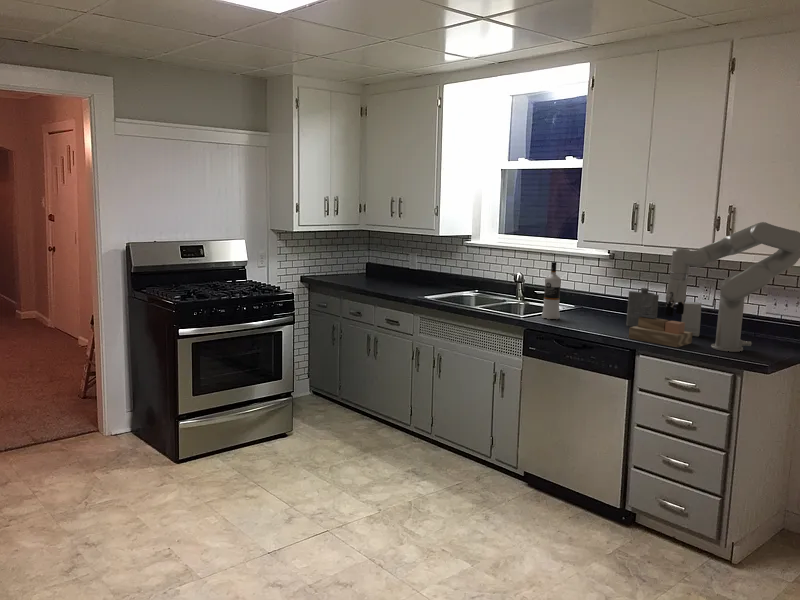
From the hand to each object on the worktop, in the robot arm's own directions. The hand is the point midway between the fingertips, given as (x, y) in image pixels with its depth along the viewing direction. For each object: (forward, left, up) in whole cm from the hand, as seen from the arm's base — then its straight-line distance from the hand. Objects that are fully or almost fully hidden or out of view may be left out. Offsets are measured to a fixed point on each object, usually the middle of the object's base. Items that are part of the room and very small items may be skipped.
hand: (674, 314), depth 303 cm
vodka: (+43, -55, -13) cm, 71 cm away
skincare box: (-16, -20, -13) cm, 29 cm away
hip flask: (+2, -35, -13) cm, 38 cm away
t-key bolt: (+9, -10, -3) cm, 14 cm away
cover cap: (-1, 0, -8) cm, 8 cm away
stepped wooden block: (+4, -4, -13) cm, 14 cm away
